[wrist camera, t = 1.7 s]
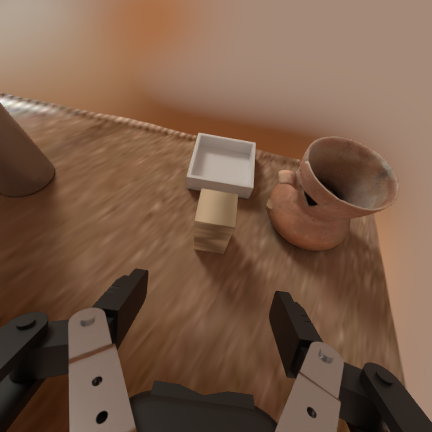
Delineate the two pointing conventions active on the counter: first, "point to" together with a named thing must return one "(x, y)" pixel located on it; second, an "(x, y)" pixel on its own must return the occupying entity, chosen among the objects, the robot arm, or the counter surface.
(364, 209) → the ceramic jug
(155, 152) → the counter surface
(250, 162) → the tray
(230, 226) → the block
